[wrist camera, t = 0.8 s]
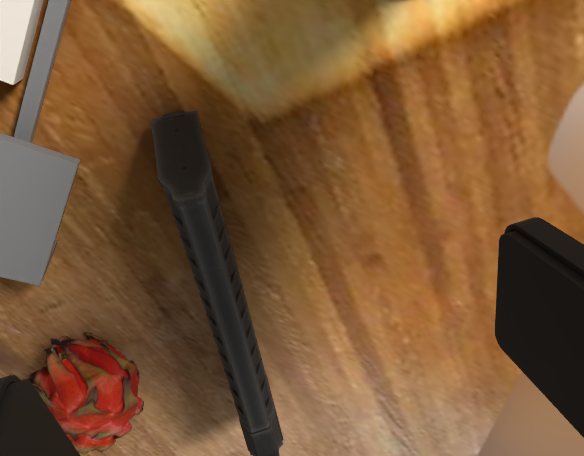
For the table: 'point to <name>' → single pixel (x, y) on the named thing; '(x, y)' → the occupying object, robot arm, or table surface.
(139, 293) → the table surface
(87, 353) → the dragon fruit
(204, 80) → the table surface
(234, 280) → the magazine
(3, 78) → the white rounded slab
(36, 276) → the dock
